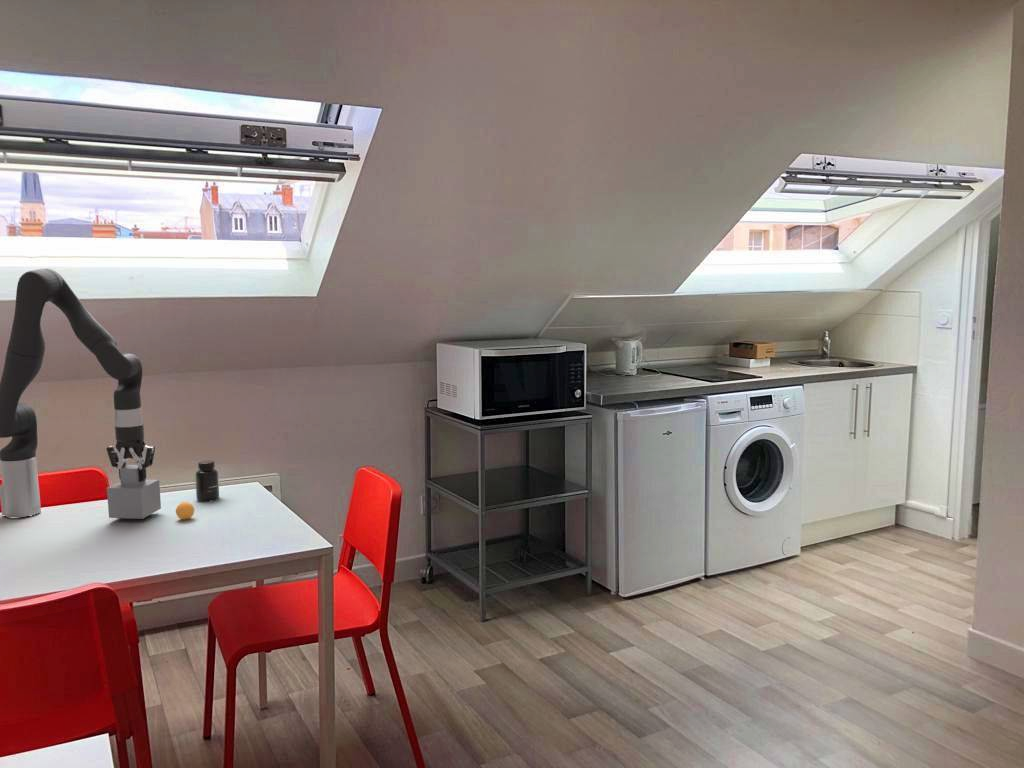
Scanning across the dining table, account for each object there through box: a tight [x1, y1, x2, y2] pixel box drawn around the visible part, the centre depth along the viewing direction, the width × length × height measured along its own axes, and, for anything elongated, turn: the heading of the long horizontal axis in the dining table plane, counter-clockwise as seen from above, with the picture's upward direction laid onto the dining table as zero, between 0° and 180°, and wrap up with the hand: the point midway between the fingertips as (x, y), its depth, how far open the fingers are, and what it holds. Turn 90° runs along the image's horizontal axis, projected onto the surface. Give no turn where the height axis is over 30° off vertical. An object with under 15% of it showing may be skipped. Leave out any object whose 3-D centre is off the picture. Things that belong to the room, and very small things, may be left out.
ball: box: [175, 501, 195, 520], centre depth 244 cm, size 5×5×5 cm
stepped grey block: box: [106, 464, 162, 520], centre depth 245 cm, size 10×10×14 cm
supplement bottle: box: [194, 460, 220, 502], centre depth 265 cm, size 7×7×12 cm
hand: (133, 480), depth 245 cm, fingers closed on stepped grey block, 4 cm apart
